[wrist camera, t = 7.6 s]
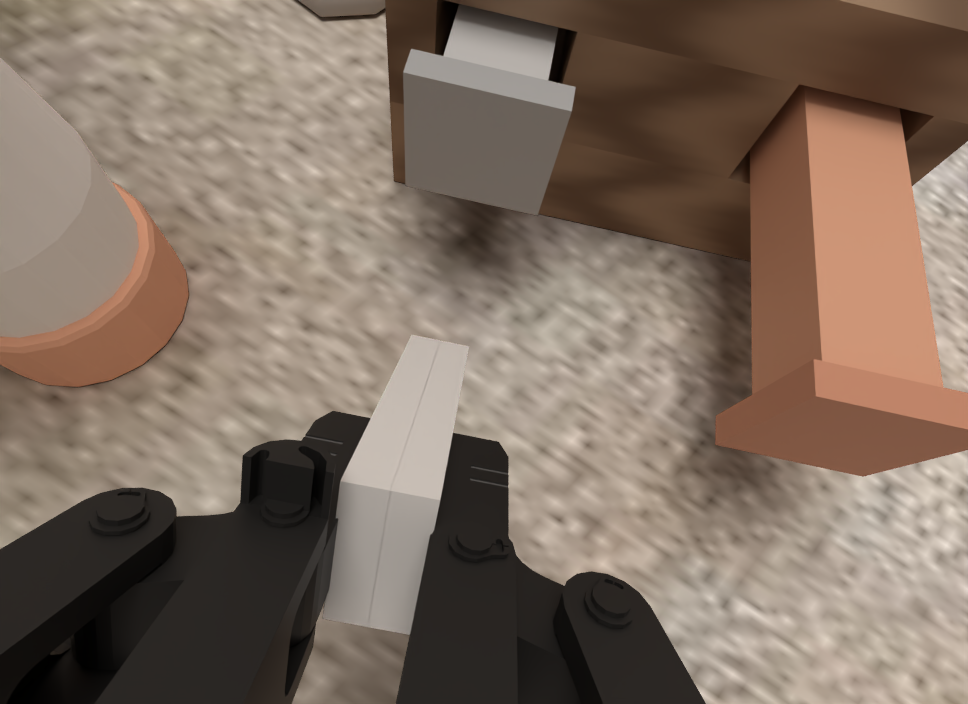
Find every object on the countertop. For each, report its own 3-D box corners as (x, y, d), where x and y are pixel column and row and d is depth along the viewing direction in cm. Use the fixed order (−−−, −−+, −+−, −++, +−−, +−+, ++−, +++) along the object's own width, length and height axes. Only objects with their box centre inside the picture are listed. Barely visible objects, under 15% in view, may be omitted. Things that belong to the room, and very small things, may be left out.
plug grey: (405, 185, 21) (403, 72, 16) (476, -47, 26) (489, -180, 22) (537, 215, 21) (571, 111, 16) (580, -23, 27) (614, -150, 22)
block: (393, 181, 26) (379, -111, 15) (439, 36, 30) (454, -277, 19) (804, 273, 27) (1071, 56, 16) (795, 120, 31) (1005, -138, 20)
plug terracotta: (715, 444, 18) (815, 396, 14) (721, 125, 24) (793, 15, 19) (862, 476, 18) (1011, 438, 14) (834, 152, 24) (932, 49, 20)
